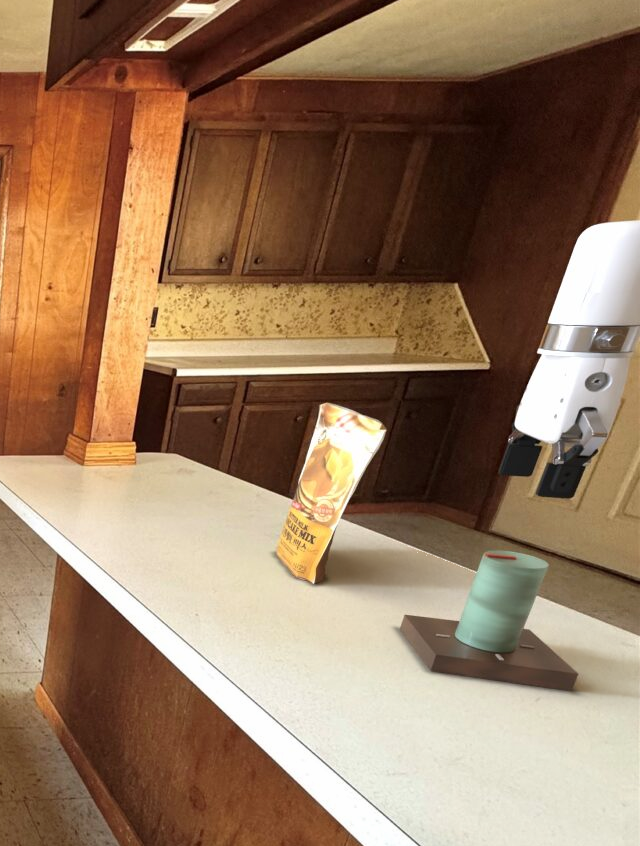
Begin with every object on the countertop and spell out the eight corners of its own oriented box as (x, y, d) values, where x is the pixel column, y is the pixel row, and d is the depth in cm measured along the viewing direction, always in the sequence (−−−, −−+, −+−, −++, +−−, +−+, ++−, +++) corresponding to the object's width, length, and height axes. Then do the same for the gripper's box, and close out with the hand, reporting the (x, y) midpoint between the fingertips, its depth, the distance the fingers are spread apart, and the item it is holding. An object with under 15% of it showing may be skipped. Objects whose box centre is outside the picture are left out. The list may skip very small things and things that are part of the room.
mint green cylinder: (502, 634, 90) (535, 551, 85) (524, 656, 85) (560, 568, 80) (447, 627, 92) (475, 546, 87) (465, 648, 87) (496, 562, 82)
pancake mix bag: (305, 548, 126) (342, 400, 116) (346, 590, 109) (394, 421, 99) (266, 545, 128) (298, 400, 118) (300, 586, 111) (342, 421, 101)
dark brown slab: (523, 645, 92) (530, 628, 91) (571, 691, 82) (579, 673, 81) (399, 629, 97) (404, 613, 96) (430, 671, 87) (436, 653, 86)
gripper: (686, 348, 66) (616, 510, 73) (588, 335, 81) (537, 470, 87) (586, 348, 69) (527, 503, 76) (509, 335, 84) (465, 466, 90)
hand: (532, 485), depth 82 cm, fingers open, 9 cm apart
